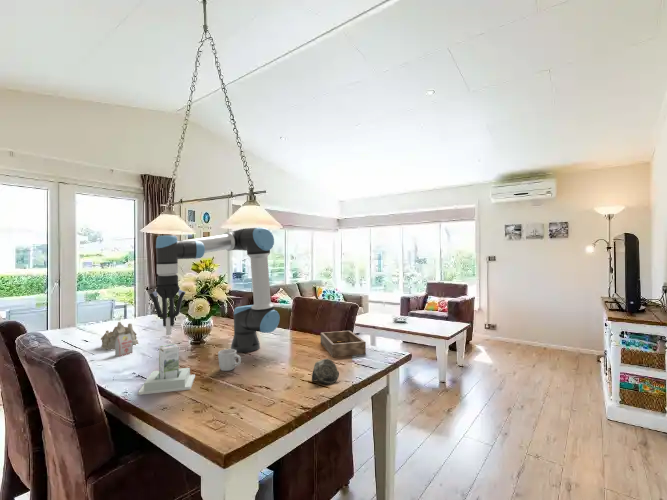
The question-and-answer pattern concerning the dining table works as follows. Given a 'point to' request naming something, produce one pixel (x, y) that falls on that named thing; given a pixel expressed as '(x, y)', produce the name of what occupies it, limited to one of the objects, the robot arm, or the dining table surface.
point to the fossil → (325, 372)
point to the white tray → (167, 383)
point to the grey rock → (111, 337)
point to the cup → (228, 359)
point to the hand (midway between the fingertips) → (168, 334)
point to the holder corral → (343, 349)
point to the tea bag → (123, 345)
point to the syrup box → (168, 361)
